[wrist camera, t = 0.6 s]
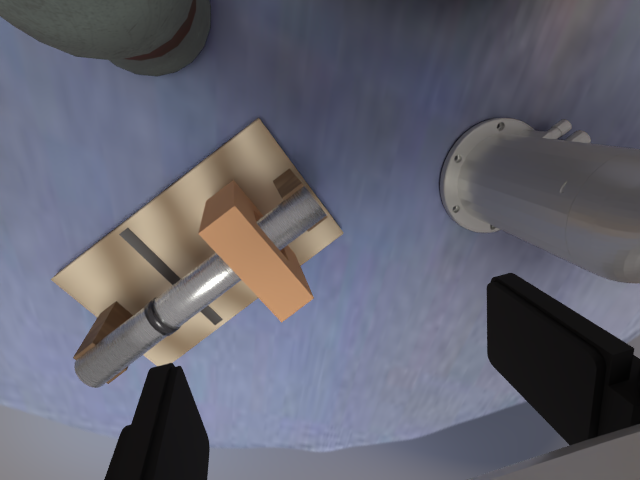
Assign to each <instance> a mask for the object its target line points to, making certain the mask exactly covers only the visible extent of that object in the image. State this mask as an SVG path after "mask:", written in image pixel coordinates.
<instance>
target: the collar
mask: <svg viewBox="0 0 640 480" xmlns="http://www.w3.org/2000/svg"><path fill="white" fill-rule="evenodd" d="M262 217H263V215H262V214H261V212H260V211H259V210H258V209H257V207H256V206H255V205H254V204H253V203H252V201H251V200H250V199H249V198H248V197H247V195H246V194H245V193H244V192H243V191H242V189H241V188H240V187H239V186H238V185H237V183H236V182H235V181H234V180H233V181H231V182H230V183H229V184H227V185H226V186H225V187H223V188H222V189H221V190H220V191H218V192H217V193H216V194H214V195H213V196H212V197H210V198H209V199H208V200H207V201H206V203H205V208H204V212H203V216H202V220H201V224H200V228H199V233H198V234H199V235H200V236H201V237H202V238H203V239H204V240H205V241H206V242H207V244H208V245H209V246H210V247H211V248H212V249H213V250H214V251H215V252H216V253H217V254H218V255H219V256H220V257H221V258H222V259H223V261H224V262H225V263H226V264H227V265H228V266H229V267H230V268H231V269H232V270H233V271H234V272H235V273H236V274H237V275H238V276H239V278H240V279H241V280H242V281H243V282H244V283H245V284H246V285H247V286H248V287H249V288H250V289H251V290H252V291H253V292H254V293H255V295H256V296H257V297H258V298H259V299H260V300H261V301H262V302H263V303H264V304H265V305H266V306H267V307H268V308H269V309H270V310H271V311H272V313H273V314H274V315H275V316H276V317H277V318H278V319H279V320H280V321H281V322H283V321H284V320H286V319H287V318H288V317H290V316H291V315H292V314H294V313H295V312H296V311H298V310H299V309H300V308H301V307H303V306H304V305H305V304H307V303H308V302H309V301H311V300H312V299H313V298H314V297H313V295H312V293H311V290H310V288H309V286H308V283H307V281H306V279H305V276H304V274H303V272H302V269H301V267H300V264H299V262H298V260H297V257H296V255H295V253H294V252H293V251H292V250H291V248H290V247H289V246H288V245H287V246H286V247H284V248H283V249H282V250H279V249H278V248H277V247H276V246H275V244H274V243H273V242H272V241H271V240H270V239H269V237H268V236H267V235H266V234H265V233H264V231H263V230H262V229H261V228H260V227H259V226H258V224H257V223H256V221H258V220H259V219H260V218H262Z"/></svg>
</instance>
